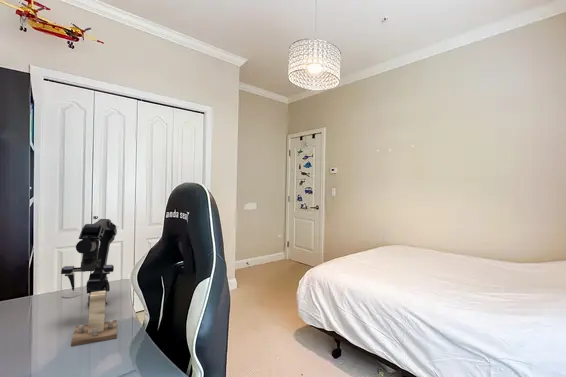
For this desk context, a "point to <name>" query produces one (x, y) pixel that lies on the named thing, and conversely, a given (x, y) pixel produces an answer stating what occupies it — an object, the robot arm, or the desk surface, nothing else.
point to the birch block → (97, 311)
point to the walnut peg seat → (94, 333)
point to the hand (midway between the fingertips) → (86, 290)
